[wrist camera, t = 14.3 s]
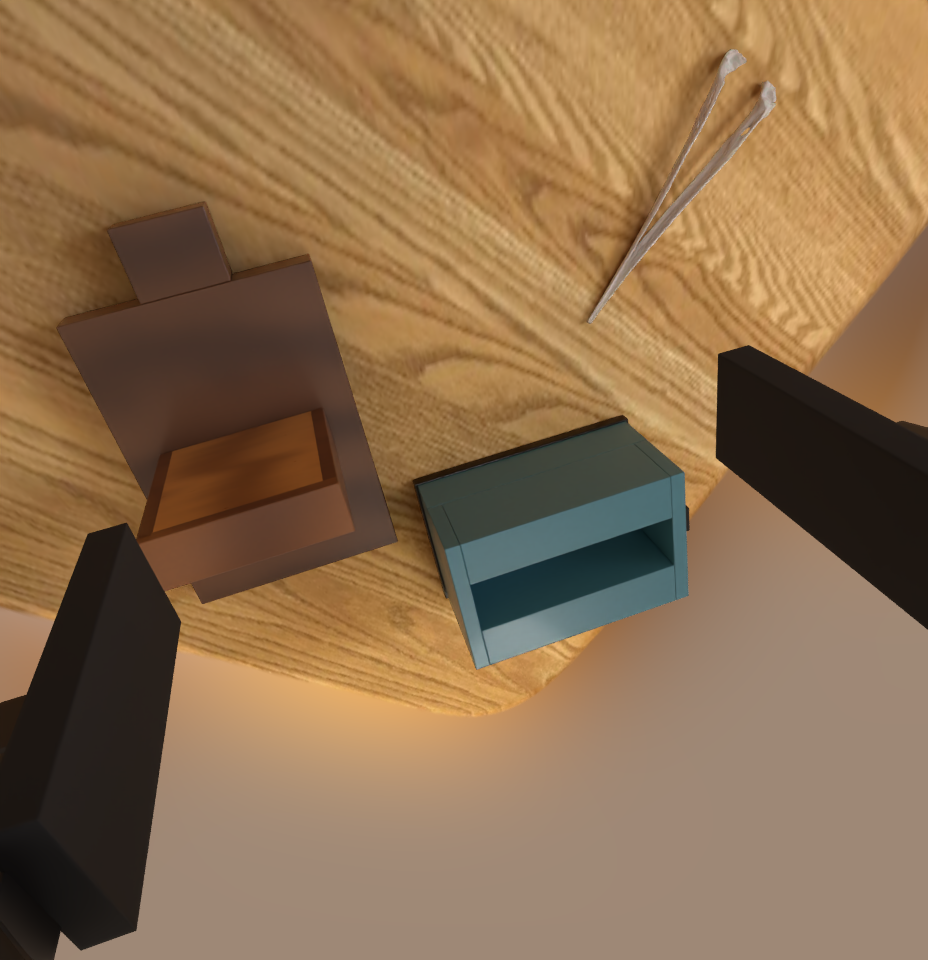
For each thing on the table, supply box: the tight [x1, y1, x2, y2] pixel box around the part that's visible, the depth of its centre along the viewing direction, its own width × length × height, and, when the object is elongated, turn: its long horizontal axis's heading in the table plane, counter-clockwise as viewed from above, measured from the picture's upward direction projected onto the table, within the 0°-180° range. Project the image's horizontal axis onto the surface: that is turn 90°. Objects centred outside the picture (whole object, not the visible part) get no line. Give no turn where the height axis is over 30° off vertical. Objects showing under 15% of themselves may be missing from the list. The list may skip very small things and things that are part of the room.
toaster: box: [413, 415, 689, 669], centre depth 49 cm, size 17×11×9 cm, turn 101°
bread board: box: [57, 202, 398, 604], centre depth 42 cm, size 24×14×2 cm, turn 11°
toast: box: [136, 408, 355, 591], centre depth 38 cm, size 10×3×10 cm, turn 101°
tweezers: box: [587, 49, 776, 324], centre depth 44 cm, size 18×5×2 cm, turn 148°
